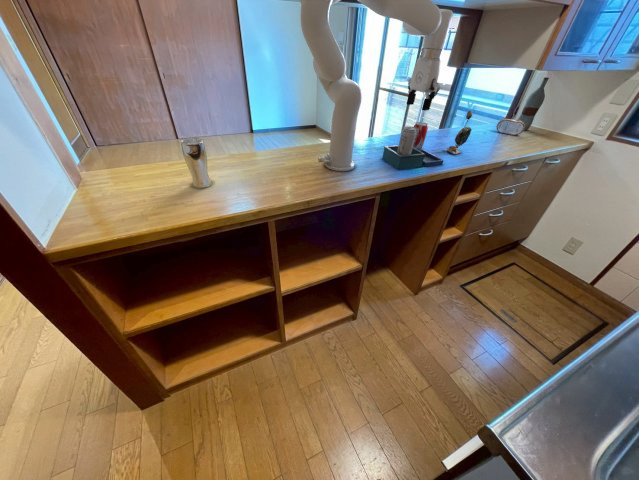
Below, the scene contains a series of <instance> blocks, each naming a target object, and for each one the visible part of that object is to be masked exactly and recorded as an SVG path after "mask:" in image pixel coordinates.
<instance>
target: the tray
mask: <svg viewBox="0 0 639 480" xmlns="http://www.w3.org/2000/svg"><path fill="white" fill-rule="evenodd" d="M419 151H421V152H423V153H424V154H426V155H425V157H424V160H423V163H422V167H424V168H427V167H435V166H442V165H443V163H444V161H445V160H444V159H441V158H440V157H439V156H436V155H434V154H432V153H430V152H429V151H428V150H425V149H419Z"/></svg>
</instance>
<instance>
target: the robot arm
mask: <svg viewBox="0 0 639 480" xmlns="http://www.w3.org/2000/svg"><path fill="white" fill-rule="evenodd" d="M341 1H342V0H299V3H300V5H301V6H300V28H301V32H302V35H303V38H304V40H305V42H306V45H307V47H308V49H309V51H310V53H311V55H312V57H313V61H312V64H313V69H314V72H315V74H316V76H317V79H318V80H319V82H320V84H321V86H322V88H323V90H324V92H325V93H326V95H327V97H328V98H329V99H330V101H331V102H332V103H333V104H334V107H333V111H332V118H331V129H330V139H329V153H326V155H325V156H320V157H318V158H317V161H318V163H323V164H324V166H325V167H326V168H327V169H329V170H332V171H334V172H335V171H336V172H348V171H352V170H354V168H355V166H356V165H355V162H354V161H353V160H352V158H353V151H354V143H355V139H356V138H355V137H356V130H357V121H358V116H359V111H360V107H361V105H362V100H363V93H362V89H361V87H360V85H359V84H358V83H357V81H354V80H352V79H350V78H348V77H347V75H346V71H347V62H346V58H345V55H344V54H343V52H342V50H341V48H340V46H339V44H338V42H337V40H336V37H335V35H334V32H333V30H332V27H331V24H330V19H329V18H330V17H329V15H330V9H331V6H333V5H335V4H337V3H338V2H341ZM356 1H357V2H359V4H362V5H364V6H365V7H366V8H368V9H369V10H371V11H372V12H374V13H375V14H377V15H379V16H381V17H383V18H388V19H393V20H397V21H400V22H402V29H403V31H404V32H405V33H406V34H407V35H409V36H411V37H423V41H422V45H421V48H420V52H419V57H418V58H417V60H416V62H415V64H414V67H413V72H412V74H411V78H409V79H408V80H407V84H408V85H407V89H408V91H407V93H408V95H407V99H406V105H408V106H412V105H414V104H415V100H416V98H417V97H416V96H417V93H416V92H420V93H424V94H425V98H424V100H423V103H422V107H421V111H430V109H431V105H432V102H433V100H434V99H435V97H436V96H437V95H438V94H439V91H440V90H441V85H440V84H439V82H438V80H439V76H440V71H441V65H442V61H441V60H442V57H443V54H444V49H445V45H446V42H447V39H448V35H449V32H450V29H451V28H450V27H451V25H452V21H453V17H454V12H453V11H452V9H446V8H440V7H439V6H438V5H437V4H435V2H433V1H432V0H356Z"/></svg>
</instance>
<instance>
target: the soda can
mask: <svg viewBox="0 0 639 480" xmlns="http://www.w3.org/2000/svg"><path fill="white" fill-rule="evenodd" d="M428 126H429V124H428V123H426V122H421V121H417V122H415V124H414V125H413V127H414V128H416V137H415V141H414V144H413V147H414V148H415V149H417V150H422V149H423V147H424V143H425V140H426V137H427V134H428V130H429V127H428Z"/></svg>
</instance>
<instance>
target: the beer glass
mask: <svg viewBox="0 0 639 480" xmlns="http://www.w3.org/2000/svg"><path fill="white" fill-rule="evenodd" d="M180 146H181V150H182V151H181V152H182V155H183V158H184V161H185V163H186V167H187V168H188V170H189V173H190V175H191V178H192V179H191V181H192V186H193V187H194V188H196V189H203V188H208V187H210V186H211V185H212V180H211V178H210V175H209V170H208V155H207V150H206V146H205V144H204V140H203V139H202V138H200V137H187V138H183V139H181V140H180Z"/></svg>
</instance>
